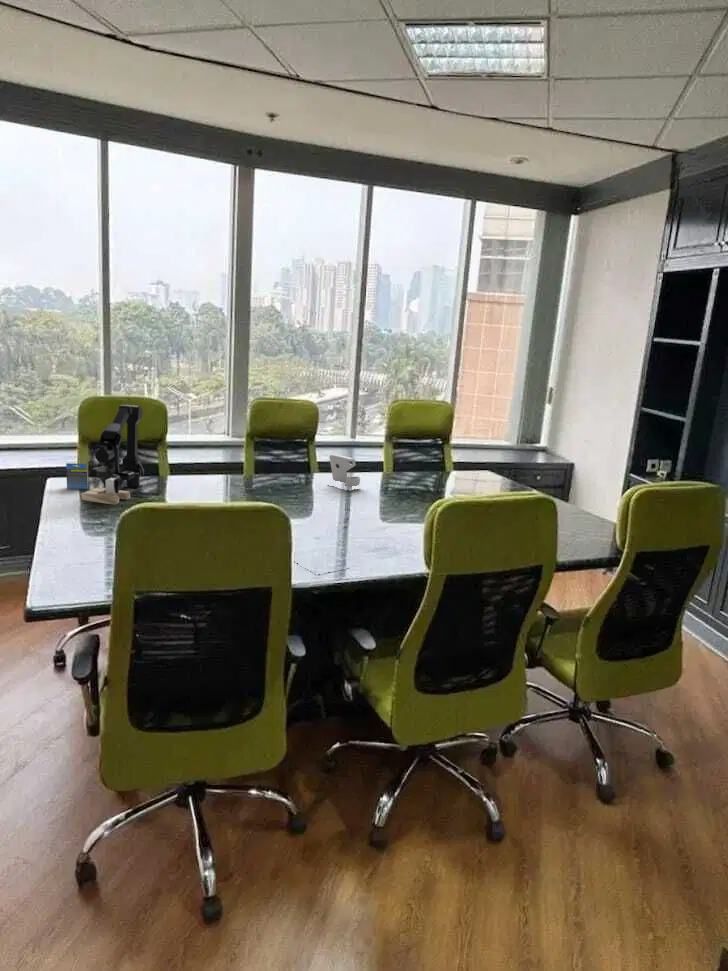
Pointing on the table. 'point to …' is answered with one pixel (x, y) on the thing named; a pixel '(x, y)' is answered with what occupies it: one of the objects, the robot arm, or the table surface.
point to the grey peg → (111, 487)
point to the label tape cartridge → (77, 476)
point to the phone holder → (343, 470)
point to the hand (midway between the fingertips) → (112, 492)
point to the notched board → (104, 496)
